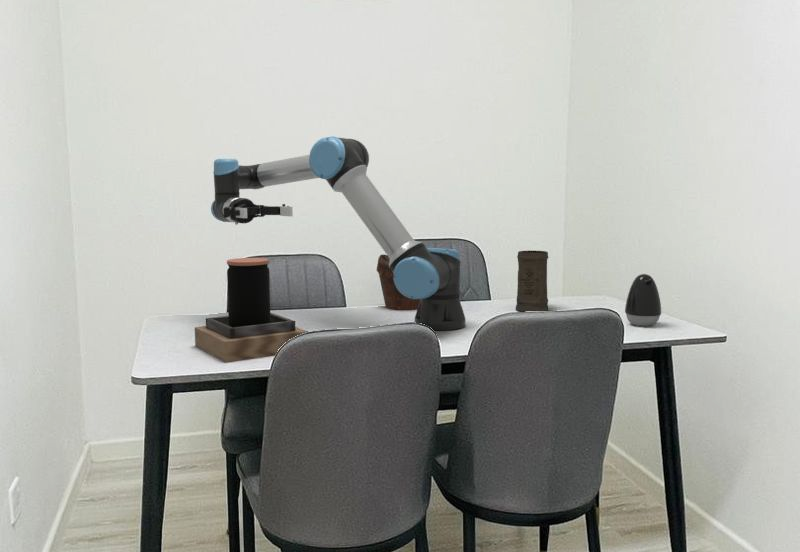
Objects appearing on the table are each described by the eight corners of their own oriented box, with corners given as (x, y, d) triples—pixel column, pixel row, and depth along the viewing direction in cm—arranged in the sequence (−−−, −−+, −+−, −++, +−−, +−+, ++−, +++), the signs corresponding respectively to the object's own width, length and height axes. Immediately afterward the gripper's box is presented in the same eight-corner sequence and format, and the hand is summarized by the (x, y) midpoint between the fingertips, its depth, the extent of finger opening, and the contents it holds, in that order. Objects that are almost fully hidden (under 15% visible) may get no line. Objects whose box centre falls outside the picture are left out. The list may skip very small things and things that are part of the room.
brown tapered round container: (442, 309, 252) (441, 255, 250) (384, 313, 247) (383, 258, 245) (425, 302, 269) (424, 251, 267) (370, 305, 264) (369, 254, 262)
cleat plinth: (272, 335, 212) (271, 309, 211) (308, 350, 193) (307, 321, 193) (195, 345, 200) (194, 317, 199) (225, 362, 181) (224, 331, 180)
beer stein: (548, 313, 243) (549, 251, 242) (514, 312, 245) (515, 251, 244) (548, 309, 258) (550, 250, 257) (516, 308, 260) (518, 249, 259)
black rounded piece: (632, 328, 219) (634, 276, 217) (619, 322, 229) (621, 272, 227) (666, 328, 219) (668, 276, 217) (652, 321, 229) (654, 271, 227)
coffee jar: (251, 323, 203) (249, 256, 201) (279, 328, 197) (277, 259, 195) (220, 330, 195) (217, 260, 193) (248, 334, 189) (246, 263, 186)
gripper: (278, 221, 235) (309, 224, 217) (199, 224, 221) (226, 228, 204) (277, 197, 234) (308, 197, 216) (198, 199, 220) (225, 199, 203)
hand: (269, 212), depth 210 cm, fingers open, 13 cm apart
